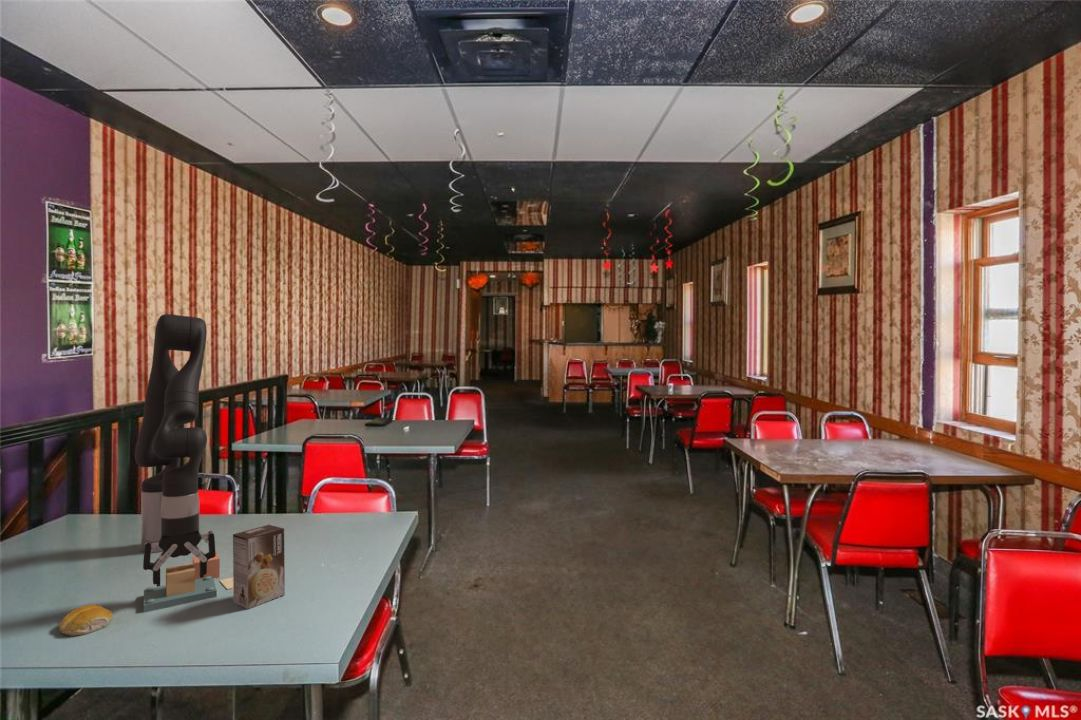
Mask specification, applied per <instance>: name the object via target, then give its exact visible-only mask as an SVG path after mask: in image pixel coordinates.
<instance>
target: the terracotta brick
mask: <svg viewBox="0 0 1081 720" xmlns="http://www.w3.org/2000/svg"><path fill="white" fill-rule="evenodd" d="M220 561H221V560H220V555H219V554H218V552H216V556H215V557H214V558H211V559H209V560H208V561H207V573H206V575H204V577H206V576H212V577H213V580H215V579H214V578H216V579H219V577H220V575H221V574H220V573H221V571H220V567H221V566H220V565H221V564H220ZM192 563H193V564H194V568H195V580H196V579H201V578H200V575H199V563H200V560H199V559H198V558H197V557H196V556H195V555H193V556H192ZM204 577H203V578H204Z"/></svg>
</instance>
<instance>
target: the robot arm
mask: <svg viewBox="0 0 1081 720" xmlns="http://www.w3.org/2000/svg"><path fill="white" fill-rule="evenodd" d="M156 321H157V322H156V325H155V329H154V330H155V331H154V341H153V353H152V364H151V368H150V373H149V379H148V384H147V387H146V393H145V399H144V400H145V401H144V408H143V414H142V415H143V416H142V421H141V425H140V429H139V432H138V436H137V440H136V442H135V443H136V444H135V447H134V459H135V463H136V464H137V466H139V467H140V468H156V467H163V466H164V468H163V469H162V470H160V471H159V472H158V473H157V474H155V475H152V476H150V477H147V478H145V479H144V480H142V482H141V486H140V487H141V488H140V489H141V490H140V492H141V493H140V494H141V496H140V497H141V499H140V501H141V504H140V505H141V508H140V509H141V511H140V512H141V515H140V517H141V520H140V521H141V527H140V529H141V532H140V533H141V536H140V537H141V539H140V541H141V542H140V543H141V545H140V546H141V547H140V548H141V552H143V551H144V552H143V560H142V561H143V563H142V565H143V566H142V569H143V570H144V571H147V570H148V571H149V570H150V571H151V572H152V583H153V585H154V586H155V585H156V587H160V586H161V567H162V566H163V565H164V564H165V562H167V561H168V559H169V558H174V559H175V558H178V557H181V556H182V557H185V556H189V555H190V554H193V556H196V557H197V558H198V559H199V560H200V563H199V575H200V578H203V577H204V575H206V573H207V561H208V560H209V559H211V558H214V557H215V556H216V553H217V552H216V544H215V543H216V539H215V533H214V531H213V530H209V531H208V532H207V533H203V534H201V532H200V510H201V508H200V497H199V471H200V465H201V462H202V458H203V456H204V452H205V451H206V447H207V443H208V436H207V434H206V431H205V429H203V428H202V427H196V426H195V427H193V426H192V427H180V426H182V425H185V424H186V425H187V424H189V423H193V422H194V421H196V420H197V419H198V416H199V409H200V408H199V399H200V398H199V397H200V396H199V395H200V392H199V391H200V383H201V382H200V381H201V376H202V371H203V365H204V357H205V351H206V343H207V336H208V335H207V333H208V332H207V331H208V330H207V324H206V321H205V320H204V319H203V318H201V317H196V316H187V315H178V314H171V313H170V314H169V313H168V314H167V313H166V314H165V313H164V314H162V315H160V316H159V317H158V319H157V320H156ZM169 351H178V352H179V351H181V352H188V353H190V354H189V358H188V359H187V361H186V362H185V363H184V365H183V366H182V367H181V368H180V369H179V370H178V368H177V366H175V364H174V362H173V360H172V358H171V355H170V352H169ZM182 458H184V459H185V458H186V459H187V458H189V459H188V461H187V462H186V463H185V464H183V465H181V459H182ZM202 540H204V542H205V543H206V544H208V552H207V553H205V552H203V551H202V550H201V549H200V548H199V547H198V545H199V543H200V542H201V541H202ZM158 552H159V553H160V554H159V555H158V558H157V559H156V560H155V561H154V562H151V554H152V553H158Z"/></svg>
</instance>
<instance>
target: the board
mask: <svg viewBox="0 0 1081 720" xmlns="http://www.w3.org/2000/svg"><path fill="white" fill-rule="evenodd" d="M217 592H218V591H217V587H216V584H215V579H213V577H212V576H206V577H204V578H201V579H196V580H195V591H194V592H189V593H184V594H179V595H174V596H169V597H167V595H166V584H165V585H160V586H158V587H157V586H155V587H154V586H150V587H146V588H145V589H143V613H146V612H151V611H155V610H156V611H157V610H160V609H164V608H169V607H174V606H179V605H184V604H189V603H193V601H194V602H197V601H203V600H207V599H211V598H216V597H217V596H218V595H217Z"/></svg>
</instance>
